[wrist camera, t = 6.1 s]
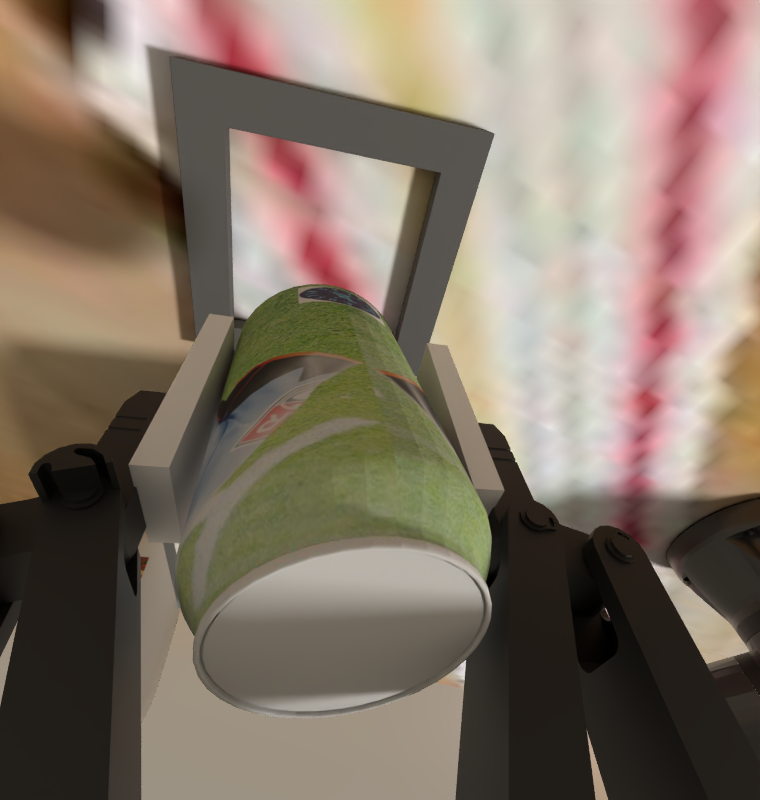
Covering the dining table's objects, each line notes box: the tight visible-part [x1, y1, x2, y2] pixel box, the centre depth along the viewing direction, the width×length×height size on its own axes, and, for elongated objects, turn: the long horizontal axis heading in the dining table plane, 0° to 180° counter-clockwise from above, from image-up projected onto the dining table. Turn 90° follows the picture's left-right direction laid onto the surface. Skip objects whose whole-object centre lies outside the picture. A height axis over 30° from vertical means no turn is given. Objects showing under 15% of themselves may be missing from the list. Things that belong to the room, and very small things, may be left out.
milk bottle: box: [138, 530, 181, 723], centre depth 31 cm, size 8×8×20 cm
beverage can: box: [175, 284, 492, 718], centre depth 12 cm, size 6×7×12 cm
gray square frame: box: [170, 57, 494, 376], centre depth 22 cm, size 14×14×1 cm
